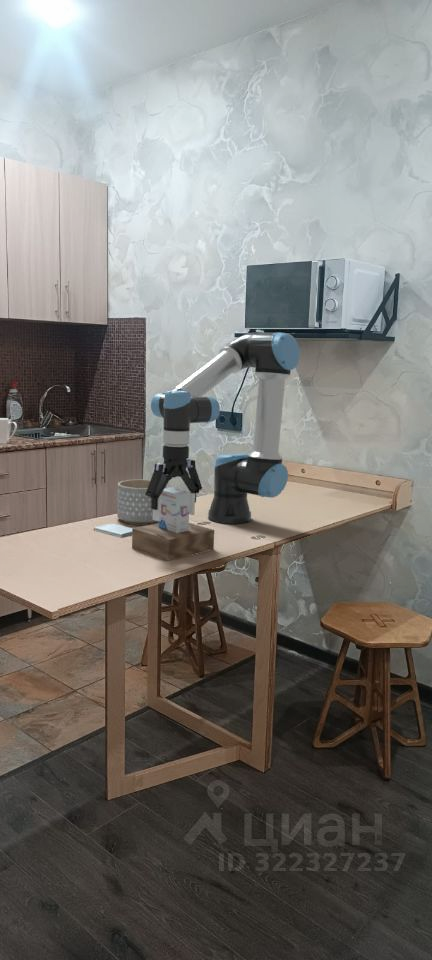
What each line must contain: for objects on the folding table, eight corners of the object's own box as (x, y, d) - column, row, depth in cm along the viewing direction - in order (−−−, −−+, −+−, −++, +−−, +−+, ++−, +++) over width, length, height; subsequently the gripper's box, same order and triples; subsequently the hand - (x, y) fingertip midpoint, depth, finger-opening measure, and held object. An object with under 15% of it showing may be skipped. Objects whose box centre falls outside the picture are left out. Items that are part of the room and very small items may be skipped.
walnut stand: (177, 538, 219) (177, 519, 218) (213, 549, 208) (214, 530, 207) (132, 547, 206) (132, 528, 205) (168, 560, 195) (168, 539, 194)
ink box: (157, 527, 207) (158, 488, 205) (170, 525, 210) (171, 486, 208) (176, 533, 201) (177, 493, 199) (189, 530, 205) (190, 491, 202)
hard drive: (139, 529, 223) (112, 522, 231) (121, 534, 217) (93, 526, 224) (139, 534, 224) (112, 527, 231) (121, 539, 217) (93, 531, 225)
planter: (112, 515, 245) (113, 480, 243) (157, 513, 251) (158, 478, 248) (123, 527, 230) (124, 489, 228) (171, 524, 236) (172, 487, 233)
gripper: (197, 440, 213) (195, 509, 217) (134, 446, 195) (132, 520, 199) (215, 443, 208) (212, 513, 211) (151, 449, 190) (149, 525, 194)
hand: (173, 517), depth 205 cm, fingers open, 13 cm apart
